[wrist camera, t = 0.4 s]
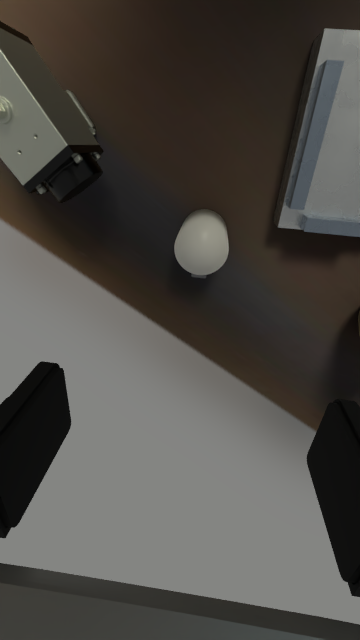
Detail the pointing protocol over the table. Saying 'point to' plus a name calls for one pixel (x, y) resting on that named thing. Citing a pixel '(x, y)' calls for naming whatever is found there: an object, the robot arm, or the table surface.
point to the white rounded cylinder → (202, 243)
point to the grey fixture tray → (325, 142)
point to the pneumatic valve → (42, 124)
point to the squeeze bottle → (359, 322)
